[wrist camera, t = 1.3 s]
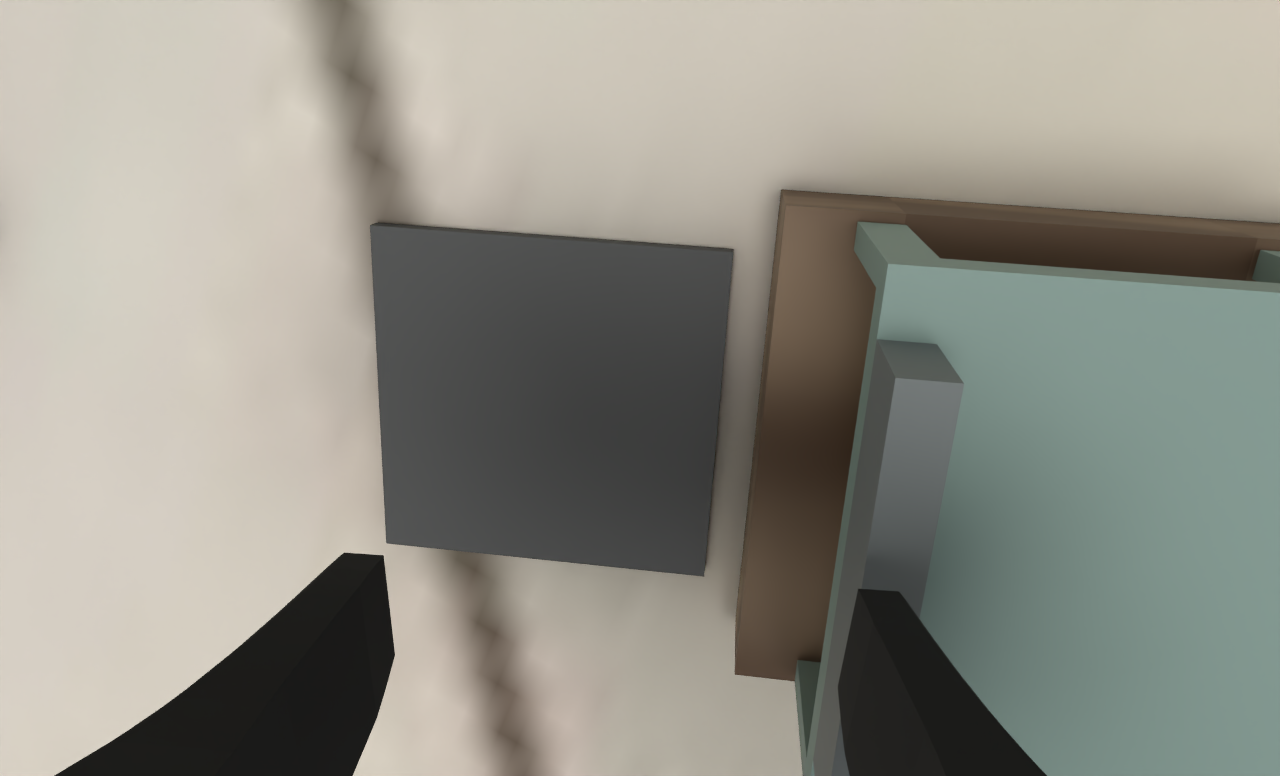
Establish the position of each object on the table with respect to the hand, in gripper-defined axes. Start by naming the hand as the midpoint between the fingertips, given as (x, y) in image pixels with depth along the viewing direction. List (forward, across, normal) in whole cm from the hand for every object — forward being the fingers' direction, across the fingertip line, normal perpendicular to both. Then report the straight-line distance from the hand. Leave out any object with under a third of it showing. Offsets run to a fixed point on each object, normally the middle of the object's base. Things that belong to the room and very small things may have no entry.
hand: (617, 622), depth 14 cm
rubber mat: (+10, +2, +2) cm, 11 cm away
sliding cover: (+7, -9, +2) cm, 11 cm away
